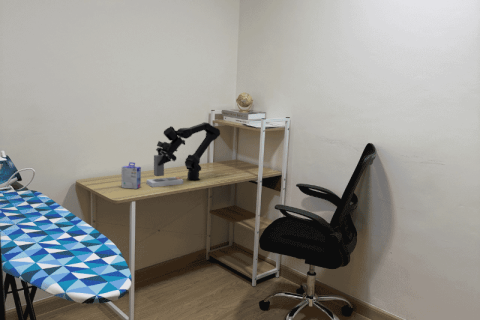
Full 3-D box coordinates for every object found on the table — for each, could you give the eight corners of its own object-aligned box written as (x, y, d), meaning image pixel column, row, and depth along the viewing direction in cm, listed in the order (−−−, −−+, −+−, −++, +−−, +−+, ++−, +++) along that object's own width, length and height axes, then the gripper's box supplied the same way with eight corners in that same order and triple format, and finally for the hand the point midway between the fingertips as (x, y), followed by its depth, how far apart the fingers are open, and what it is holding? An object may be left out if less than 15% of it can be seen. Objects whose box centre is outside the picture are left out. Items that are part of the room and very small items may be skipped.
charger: (160, 174, 252) (161, 154, 249) (163, 175, 248) (163, 155, 246) (153, 174, 249) (153, 154, 247) (156, 176, 246) (156, 156, 243)
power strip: (176, 180, 261) (176, 175, 260) (183, 183, 254) (183, 178, 253) (146, 183, 250) (146, 178, 249) (152, 187, 243) (152, 182, 242)
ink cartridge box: (141, 187, 242) (141, 162, 239) (137, 189, 237) (137, 164, 234) (125, 185, 244) (125, 161, 241) (121, 187, 238) (120, 163, 236)
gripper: (159, 134, 254) (141, 153, 250) (171, 138, 239) (153, 158, 235) (170, 146, 260) (154, 164, 256) (183, 151, 245) (166, 171, 241)
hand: (156, 164), depth 247 cm, fingers closed on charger, 4 cm apart
